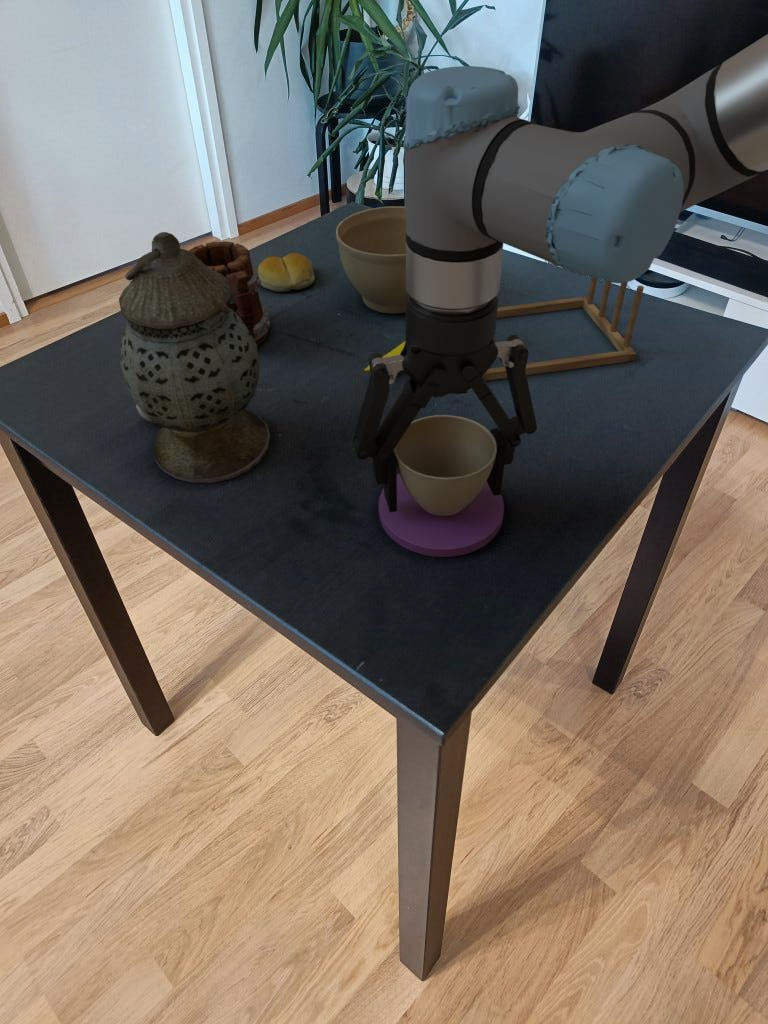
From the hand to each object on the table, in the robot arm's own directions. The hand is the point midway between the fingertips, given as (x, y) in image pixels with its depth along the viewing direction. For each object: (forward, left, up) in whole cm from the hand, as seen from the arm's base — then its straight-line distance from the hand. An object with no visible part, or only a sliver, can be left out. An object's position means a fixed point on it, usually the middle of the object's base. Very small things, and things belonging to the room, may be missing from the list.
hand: (442, 494), depth 73 cm
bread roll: (+56, +10, -3) cm, 57 cm away
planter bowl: (+46, -5, -3) cm, 46 cm away
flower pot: (0, 0, -1) cm, 1 cm away
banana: (+29, -7, -1) cm, 30 cm away
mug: (+40, +19, -3) cm, 44 cm away
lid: (0, 0, -2) cm, 2 cm away
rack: (+30, -22, -2) cm, 37 cm away
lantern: (+17, +24, -2) cm, 29 cm away
